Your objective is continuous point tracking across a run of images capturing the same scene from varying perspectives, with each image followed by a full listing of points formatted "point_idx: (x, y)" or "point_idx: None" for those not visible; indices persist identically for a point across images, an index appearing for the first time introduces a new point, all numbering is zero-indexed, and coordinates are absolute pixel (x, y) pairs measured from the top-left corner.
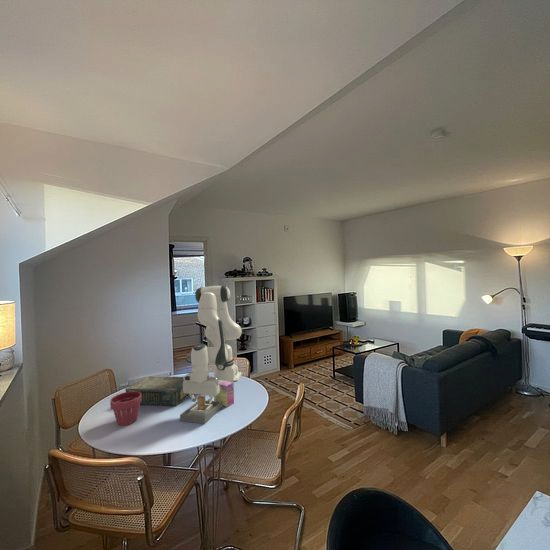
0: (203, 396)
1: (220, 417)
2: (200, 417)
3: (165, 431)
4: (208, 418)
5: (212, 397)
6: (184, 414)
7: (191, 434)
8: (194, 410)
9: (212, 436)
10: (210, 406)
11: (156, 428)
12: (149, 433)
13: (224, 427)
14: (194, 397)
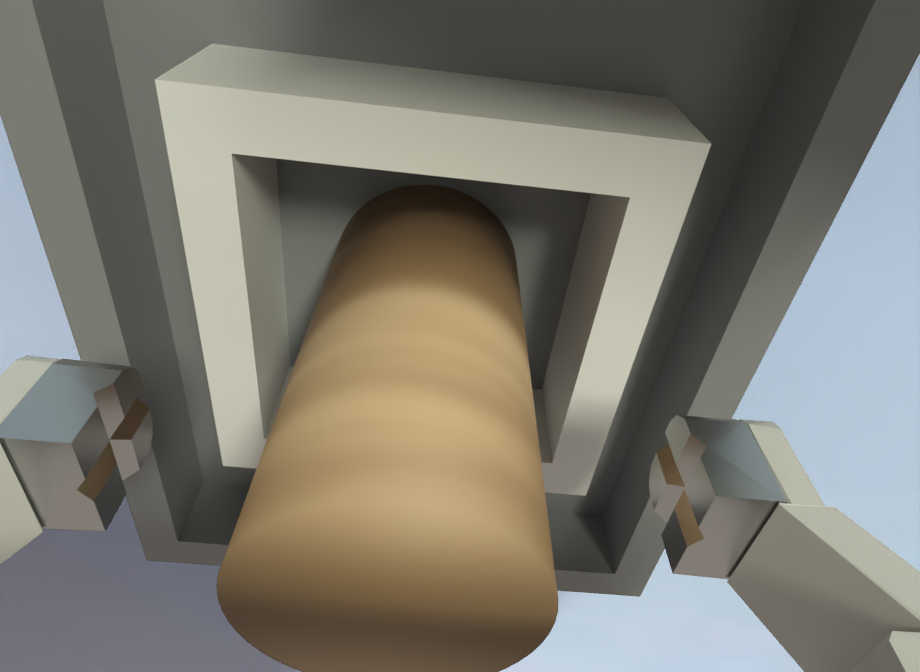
0: (483, 598)
1: (861, 347)
2: (557, 586)
3: (199, 636)
4: None
5: (900, 576)
6: (214, 545)
7: (528, 655)
8: None
9: (769, 666)
10: (661, 282)
11: (35, 606)
12: (60, 662)
13: (916, 556)
14: (9, 441)
